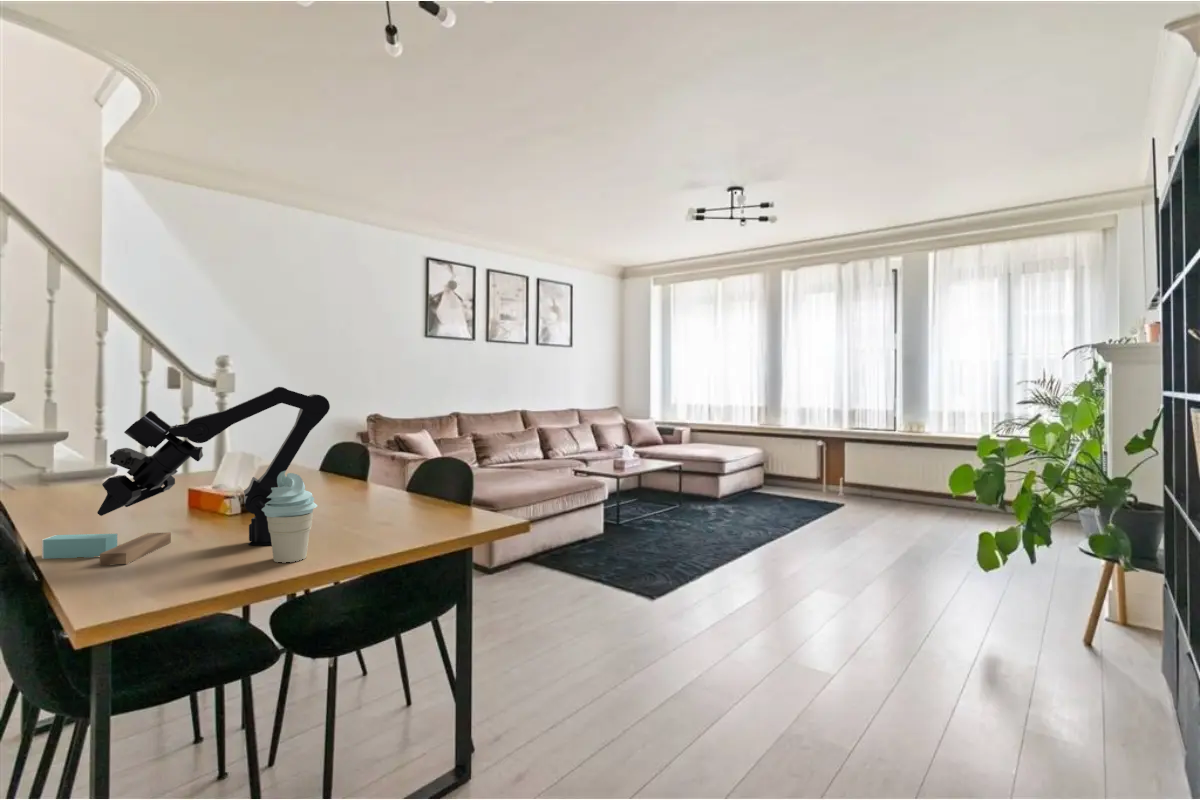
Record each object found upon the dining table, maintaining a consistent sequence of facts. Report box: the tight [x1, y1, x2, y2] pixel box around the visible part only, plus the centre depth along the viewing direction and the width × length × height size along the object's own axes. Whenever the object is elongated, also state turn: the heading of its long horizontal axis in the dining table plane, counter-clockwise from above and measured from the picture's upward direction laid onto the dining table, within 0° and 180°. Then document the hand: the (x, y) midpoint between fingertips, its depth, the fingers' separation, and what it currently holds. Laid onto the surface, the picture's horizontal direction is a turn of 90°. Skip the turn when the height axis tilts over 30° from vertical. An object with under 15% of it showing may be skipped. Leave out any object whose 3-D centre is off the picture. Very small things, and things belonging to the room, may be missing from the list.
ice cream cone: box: [262, 470, 318, 564], centre depth 136 cm, size 10×11×20 cm
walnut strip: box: [99, 532, 172, 566], centre depth 138 cm, size 5×18×2 cm, turn 10°
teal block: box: [41, 533, 118, 559], centre depth 136 cm, size 4×4×12 cm
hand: (112, 509), depth 137 cm, fingers open, 9 cm apart
